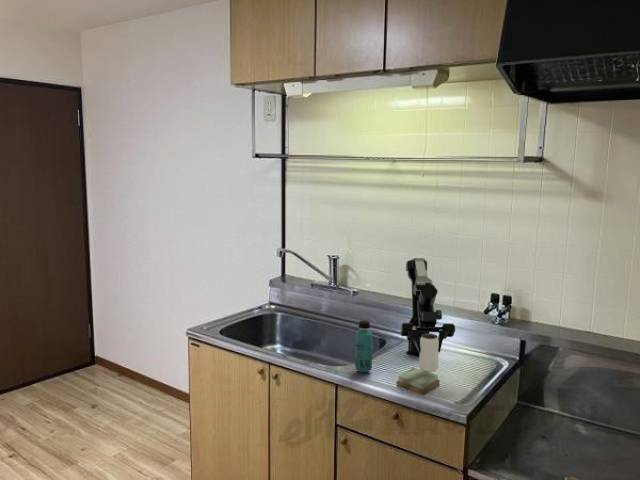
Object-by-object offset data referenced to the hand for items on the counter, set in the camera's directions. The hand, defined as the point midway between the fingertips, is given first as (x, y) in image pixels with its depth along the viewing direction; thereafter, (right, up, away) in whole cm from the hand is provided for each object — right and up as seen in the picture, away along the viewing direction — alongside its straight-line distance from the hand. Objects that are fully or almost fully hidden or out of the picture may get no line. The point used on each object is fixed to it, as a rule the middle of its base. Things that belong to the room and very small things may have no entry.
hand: (429, 351), depth 183 cm
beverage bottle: (-22, -11, +16) cm, 29 cm away
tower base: (-3, -13, +4) cm, 14 cm away
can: (0, -7, +2) cm, 7 cm away
